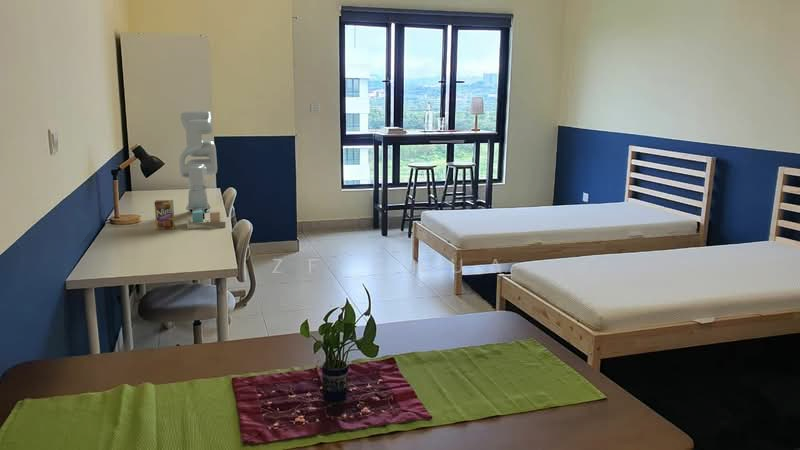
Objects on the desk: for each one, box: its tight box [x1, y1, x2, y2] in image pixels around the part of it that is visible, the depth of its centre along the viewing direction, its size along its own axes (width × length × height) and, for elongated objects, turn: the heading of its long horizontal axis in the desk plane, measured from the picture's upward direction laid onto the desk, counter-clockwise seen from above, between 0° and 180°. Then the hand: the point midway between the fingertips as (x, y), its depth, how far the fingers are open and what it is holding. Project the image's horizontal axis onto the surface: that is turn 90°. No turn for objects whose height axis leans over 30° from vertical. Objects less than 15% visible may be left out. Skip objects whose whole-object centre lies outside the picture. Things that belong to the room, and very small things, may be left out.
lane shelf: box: [186, 217, 227, 230], centre depth 337 cm, size 10×20×3 cm, turn 105°
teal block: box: [191, 210, 204, 223], centre depth 341 cm, size 16×5×8 cm, turn 15°
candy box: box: [153, 199, 176, 230], centre depth 329 cm, size 9×4×15 cm, turn 98°
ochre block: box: [209, 210, 221, 222], centre depth 337 cm, size 5×5×8 cm
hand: (199, 220), depth 348 cm, fingers closed on teal block, 3 cm apart
